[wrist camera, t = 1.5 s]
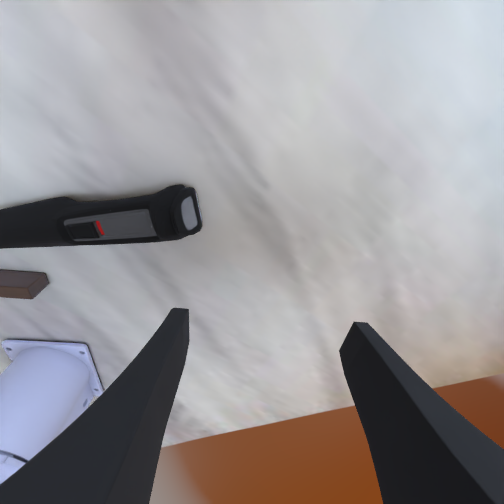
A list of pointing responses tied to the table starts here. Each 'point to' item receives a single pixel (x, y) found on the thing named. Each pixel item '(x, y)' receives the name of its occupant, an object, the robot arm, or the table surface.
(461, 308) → the table surface
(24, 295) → the dock
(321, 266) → the table surface
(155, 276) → the table surface
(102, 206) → the electric trimmer
